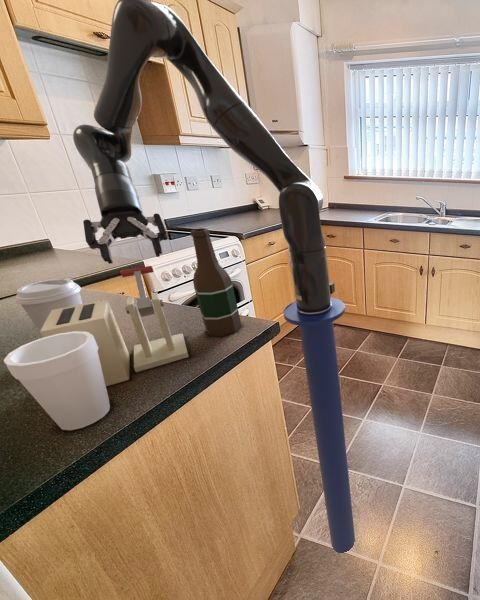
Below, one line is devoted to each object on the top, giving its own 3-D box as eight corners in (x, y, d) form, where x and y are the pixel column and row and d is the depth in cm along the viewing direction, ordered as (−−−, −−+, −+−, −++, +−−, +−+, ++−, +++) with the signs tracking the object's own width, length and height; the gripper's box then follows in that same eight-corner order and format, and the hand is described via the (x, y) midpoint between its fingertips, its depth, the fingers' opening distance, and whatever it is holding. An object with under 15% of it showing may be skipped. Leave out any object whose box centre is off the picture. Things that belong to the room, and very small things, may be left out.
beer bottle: (227, 319, 86) (204, 224, 76) (248, 325, 82) (227, 227, 73) (198, 332, 79) (169, 231, 69) (221, 340, 76) (194, 235, 66)
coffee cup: (112, 344, 75) (86, 281, 69) (57, 366, 67) (22, 297, 61) (91, 334, 79) (64, 274, 73) (36, 354, 71) (2, 289, 65)
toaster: (79, 369, 66) (50, 309, 61) (129, 355, 70) (107, 298, 65) (72, 396, 59) (39, 330, 53) (129, 379, 63) (103, 317, 58)
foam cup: (116, 389, 60) (88, 325, 55) (127, 414, 55) (97, 345, 49) (43, 416, 54) (4, 348, 49) (46, 448, 48) (2, 374, 43)
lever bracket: (135, 350, 72) (114, 295, 67) (183, 337, 77) (167, 285, 72) (135, 372, 65) (112, 313, 60) (188, 357, 70) (171, 301, 65)
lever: (122, 275, 72) (119, 267, 70) (153, 270, 75) (150, 262, 73) (131, 319, 65) (127, 311, 64) (164, 311, 68) (161, 303, 67)
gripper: (71, 190, 71) (86, 254, 67) (152, 185, 78) (170, 243, 75) (84, 212, 77) (98, 273, 73) (158, 206, 84) (174, 261, 81)
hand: (134, 258), depth 74 cm, fingers open, 8 cm apart
